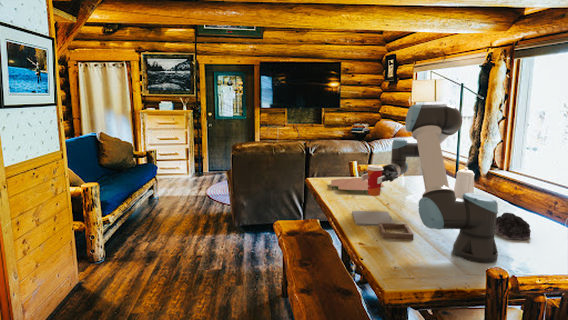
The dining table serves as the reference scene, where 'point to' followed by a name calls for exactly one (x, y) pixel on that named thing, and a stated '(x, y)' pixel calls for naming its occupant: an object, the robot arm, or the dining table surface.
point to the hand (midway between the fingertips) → (369, 179)
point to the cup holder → (399, 236)
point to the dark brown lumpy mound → (512, 227)
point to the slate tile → (371, 218)
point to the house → (351, 184)
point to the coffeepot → (464, 182)
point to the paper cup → (374, 179)
